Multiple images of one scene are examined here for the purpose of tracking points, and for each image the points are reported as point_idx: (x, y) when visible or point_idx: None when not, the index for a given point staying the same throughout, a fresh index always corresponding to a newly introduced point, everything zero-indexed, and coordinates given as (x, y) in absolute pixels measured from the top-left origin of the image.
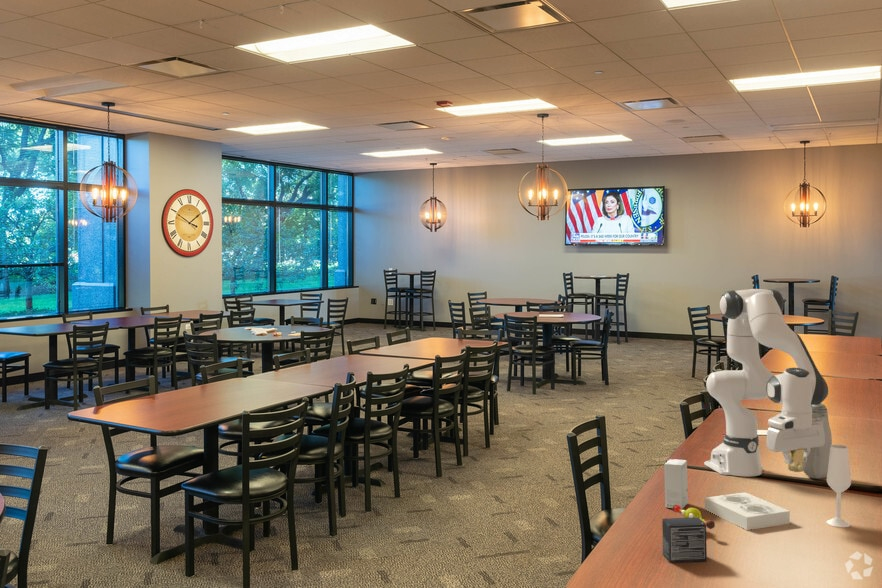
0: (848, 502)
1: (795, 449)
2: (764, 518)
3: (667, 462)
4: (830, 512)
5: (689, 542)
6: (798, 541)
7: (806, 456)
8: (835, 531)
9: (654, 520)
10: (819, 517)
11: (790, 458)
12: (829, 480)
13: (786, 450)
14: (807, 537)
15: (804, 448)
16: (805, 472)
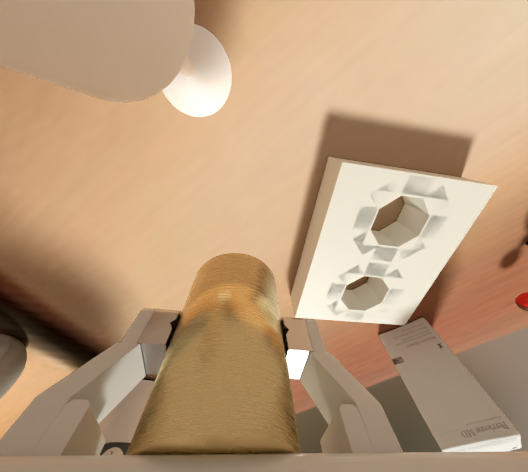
0: (24, 200)
1: (302, 461)
2: (428, 174)
3: (504, 451)
4: (141, 165)
5: None
6: (463, 14)
7: (130, 343)
8: (269, 13)
9: (513, 301)
10: (206, 151)
11: (303, 354)
12: (186, 7)
13: (457, 463)
14: (403, 27)
15: (128, 460)
16: (25, 359)
